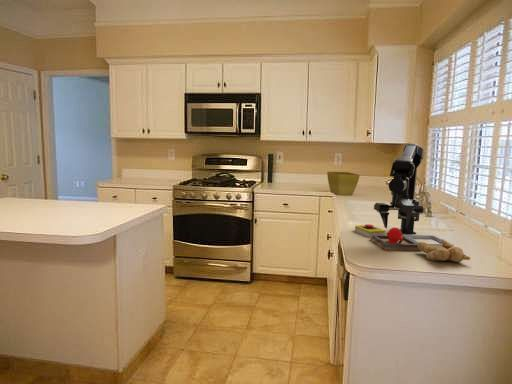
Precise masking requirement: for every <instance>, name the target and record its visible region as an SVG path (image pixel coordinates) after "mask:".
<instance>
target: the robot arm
mask: <svg viewBox="0 0 512 384" xmlns="http://www.w3.org/2000/svg"><path fill="white" fill-rule="evenodd" d="M424 151H425V150H424V148H422V147H420V146H419V144H417V143H405V145H404V147H403V150H402V154H401V156H400V157H399V156H398V157H396V158H395V160H394V161H393V162H392V165H391V170H390V173H389V177H393V178H392V179H391V180H390V181H389V183H388V188H389V189H388V190H389V191H390V194H391V201H390V203H388V204H387V203H385V202H375V204H374V205H373V210H375V211H376V212H377V213H378V214H379V215H380V218H381V221H382V224H383V226H384V227H383V228H384V229H388V223H389V222H388V220H389V219H388V218H389V214H390V212H389V211H397V219H398V220H401V221H400V228H399V229H400V231H401V233H402V234H410V235H417V232H415V231H414V228H415V222H419V221H420V215H421V214H423V213H424V212H425V211H424V210H425V209H424V206H423V205H420V202H419V200H418V199H415V196H416V195H415V193H416V185H417V176H418V175H417V174H418V167H420V165H421V164H422V163H423V160H424V158H425V152H424Z"/></svg>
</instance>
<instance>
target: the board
mask: <svg viewBox="0 0 512 384" xmlns="http://www.w3.org/2000/svg"><path fill="white" fill-rule="evenodd" d="M402 237H403V241H402V242H401V243H399V241H400V239H399V241H398V242H397V243H396V244H390V242H389V237H388V235H387V234H385V235H373V237H370V240H369V241H370V242H372V243H374V244H375V245H377V246H378V247H379V248H381V249H383V250H384V251H386V252H387V251H388V252H389V251H391V252H392V251H393V252H422V251H421V250H420V249H419V248H418V244H417V243H415V242H414V241H412V240H410V239H408V238H406V237H404V236H403V235H402Z"/></svg>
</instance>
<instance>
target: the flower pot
mask: <svg viewBox="0 0 512 384" xmlns="http://www.w3.org/2000/svg"><path fill="white" fill-rule="evenodd" d="M326 174H327V182H328V183H327V184H328V187H329V190H330V193H331V194H334V195H338V196H352V195H354V193H355V190H356V188H357V185H358V182H359V180H360V176H361V175H360V174H357V173H353V172H348V171H327V173H326Z"/></svg>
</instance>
